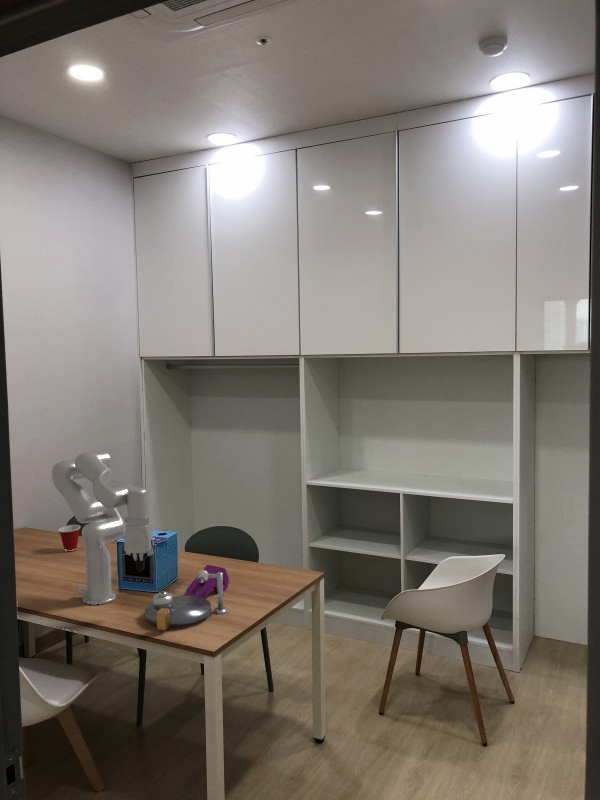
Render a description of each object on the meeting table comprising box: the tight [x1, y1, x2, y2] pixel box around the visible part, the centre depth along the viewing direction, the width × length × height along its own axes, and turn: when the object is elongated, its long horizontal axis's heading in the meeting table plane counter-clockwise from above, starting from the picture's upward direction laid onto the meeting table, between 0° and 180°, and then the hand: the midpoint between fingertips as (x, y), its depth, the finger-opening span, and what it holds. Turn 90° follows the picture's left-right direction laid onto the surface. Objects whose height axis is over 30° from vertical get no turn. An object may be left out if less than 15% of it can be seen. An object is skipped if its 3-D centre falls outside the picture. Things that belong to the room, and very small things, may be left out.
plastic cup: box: [57, 524, 81, 550], centre depth 324 cm, size 11×11×12 cm
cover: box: [152, 590, 173, 610], centre depth 239 cm, size 7×7×5 cm
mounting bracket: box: [185, 564, 230, 599], centre depth 261 cm, size 9×8×18 cm
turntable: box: [144, 595, 212, 631], centre depth 236 cm, size 24×28×6 cm
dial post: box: [195, 569, 228, 615], centre depth 242 cm, size 11×5×16 cm, turn 79°
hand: (140, 570), depth 239 cm, fingers closed
